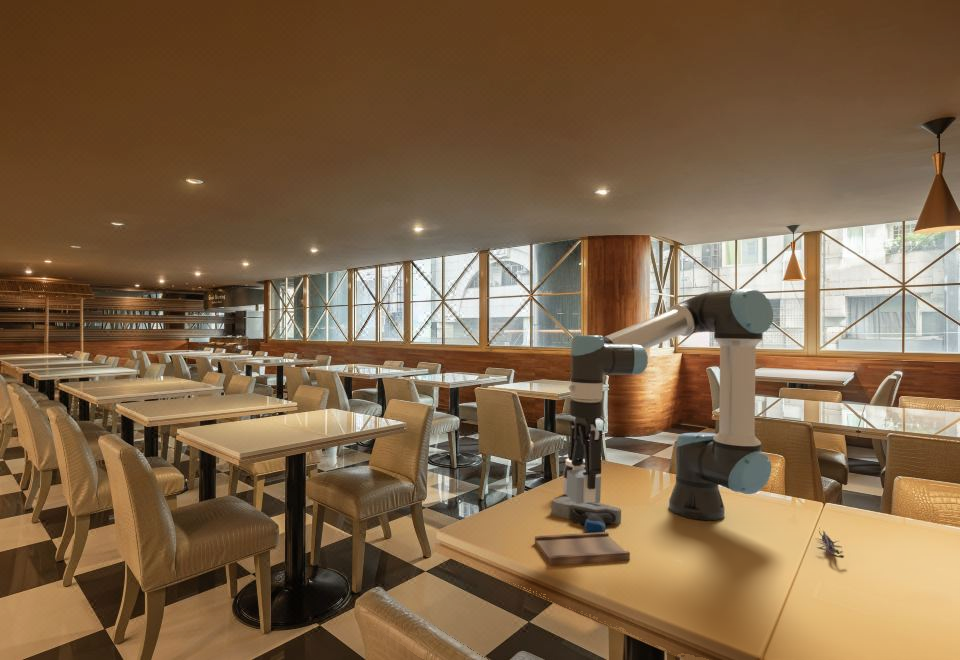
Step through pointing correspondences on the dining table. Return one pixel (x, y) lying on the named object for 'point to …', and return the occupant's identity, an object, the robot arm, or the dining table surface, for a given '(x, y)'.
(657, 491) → the dining table surface
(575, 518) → the ray gun
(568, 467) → the spread jar
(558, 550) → the board
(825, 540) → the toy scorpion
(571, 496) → the cube
